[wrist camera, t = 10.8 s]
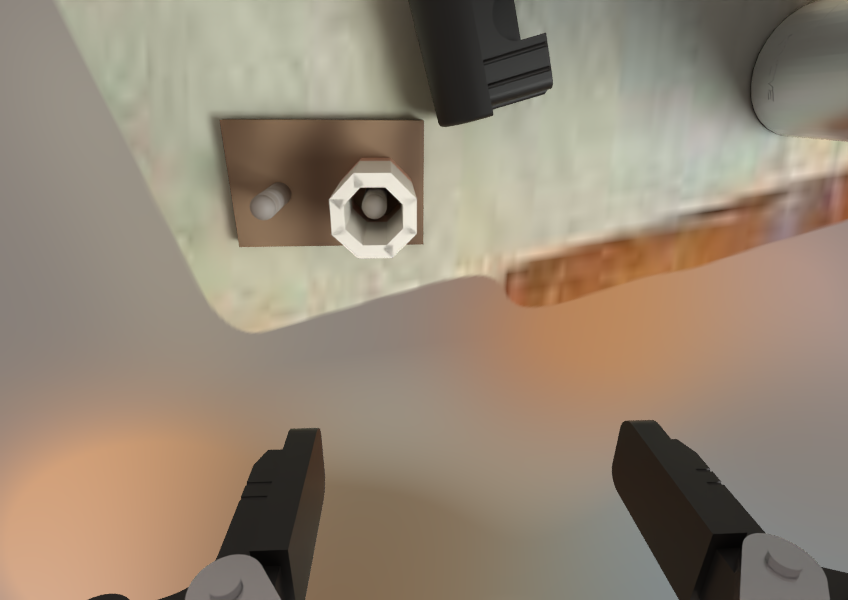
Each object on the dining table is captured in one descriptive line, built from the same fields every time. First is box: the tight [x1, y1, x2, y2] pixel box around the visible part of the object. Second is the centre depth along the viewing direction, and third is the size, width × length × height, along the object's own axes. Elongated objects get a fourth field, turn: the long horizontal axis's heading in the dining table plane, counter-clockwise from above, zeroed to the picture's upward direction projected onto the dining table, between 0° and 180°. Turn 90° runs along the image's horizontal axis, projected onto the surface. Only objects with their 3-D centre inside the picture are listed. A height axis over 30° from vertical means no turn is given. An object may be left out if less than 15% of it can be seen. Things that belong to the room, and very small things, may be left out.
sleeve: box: [329, 158, 417, 258], centre depth 31 cm, size 5×5×8 cm
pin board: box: [220, 119, 424, 247], centre depth 32 cm, size 14×9×7 cm, turn 90°
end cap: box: [409, 0, 553, 127], centre depth 29 cm, size 10×7×7 cm
